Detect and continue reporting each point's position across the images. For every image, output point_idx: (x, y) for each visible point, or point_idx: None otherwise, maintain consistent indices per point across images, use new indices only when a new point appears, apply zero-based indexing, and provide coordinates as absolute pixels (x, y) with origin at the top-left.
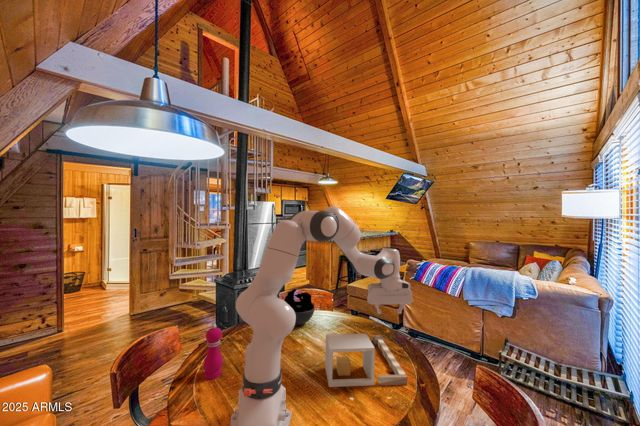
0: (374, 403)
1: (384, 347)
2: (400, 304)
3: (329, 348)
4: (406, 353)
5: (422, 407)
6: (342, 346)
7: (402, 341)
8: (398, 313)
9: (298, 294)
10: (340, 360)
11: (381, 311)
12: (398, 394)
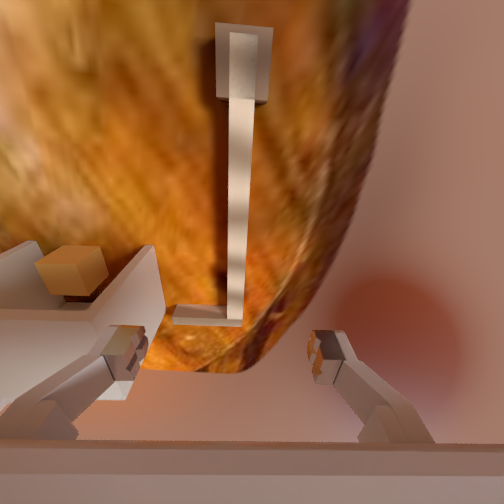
0: (158, 346)
1: (236, 181)
2: (370, 437)
3: None
4: (322, 182)
5: (240, 357)
6: (5, 390)
7: (377, 62)
8: (307, 349)
9: None
10: (53, 283)
11: (138, 369)
12: (210, 333)
